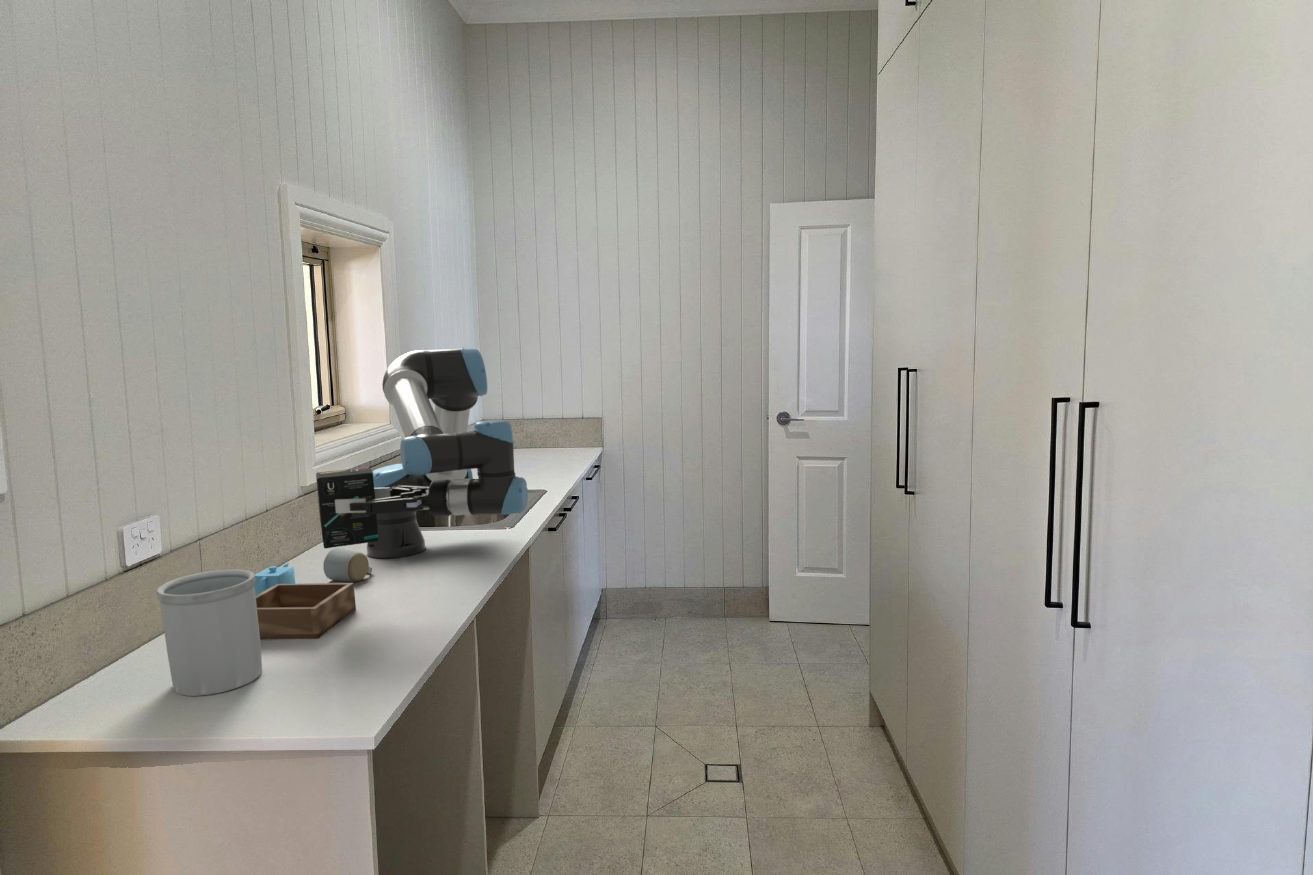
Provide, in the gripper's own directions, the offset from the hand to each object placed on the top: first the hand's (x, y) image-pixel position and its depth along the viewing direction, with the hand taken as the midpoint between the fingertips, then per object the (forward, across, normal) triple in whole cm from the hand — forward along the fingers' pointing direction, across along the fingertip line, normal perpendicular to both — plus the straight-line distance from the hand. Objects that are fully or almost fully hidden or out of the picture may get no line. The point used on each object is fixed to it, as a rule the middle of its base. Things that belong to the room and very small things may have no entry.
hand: (348, 500), depth 177 cm
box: (+10, -7, -24) cm, 27 cm away
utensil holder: (+10, -35, -24) cm, 44 cm away
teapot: (+23, +11, -24) cm, 35 cm away
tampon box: (0, 0, -9) cm, 9 cm away
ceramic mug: (+12, +25, -24) cm, 37 cm away
